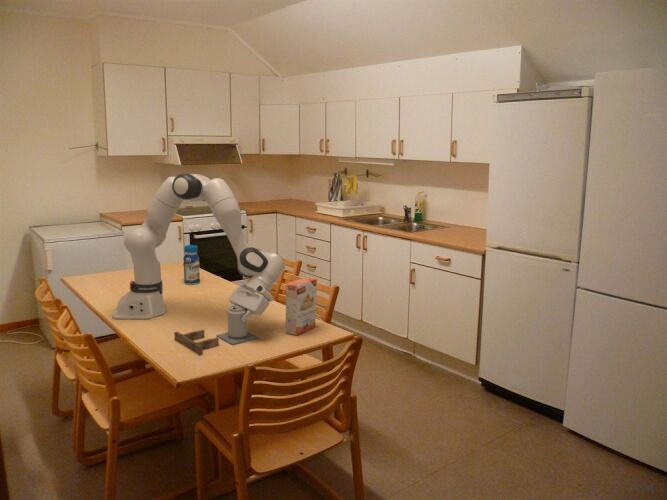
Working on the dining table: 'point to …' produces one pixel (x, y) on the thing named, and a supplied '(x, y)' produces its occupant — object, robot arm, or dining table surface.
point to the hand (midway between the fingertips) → (236, 317)
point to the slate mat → (237, 341)
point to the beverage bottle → (191, 265)
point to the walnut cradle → (196, 346)
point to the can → (236, 322)
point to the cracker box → (300, 305)
